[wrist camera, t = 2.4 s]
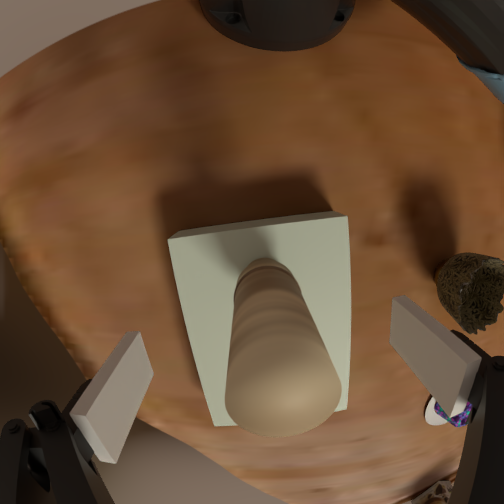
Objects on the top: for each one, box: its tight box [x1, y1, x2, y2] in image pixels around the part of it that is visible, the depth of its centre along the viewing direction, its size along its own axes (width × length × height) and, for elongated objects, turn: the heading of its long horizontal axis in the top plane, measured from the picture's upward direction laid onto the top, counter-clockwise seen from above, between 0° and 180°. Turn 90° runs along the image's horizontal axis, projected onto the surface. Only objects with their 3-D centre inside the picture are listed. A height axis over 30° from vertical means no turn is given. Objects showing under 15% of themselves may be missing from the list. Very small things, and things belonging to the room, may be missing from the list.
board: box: [168, 211, 351, 426], centre depth 26 cm, size 20×14×4 cm
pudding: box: [425, 397, 472, 427], centre depth 30 cm, size 12×12×5 cm
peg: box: [225, 258, 342, 437], centre depth 16 cm, size 4×4×14 cm
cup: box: [434, 253, 504, 335], centre depth 24 cm, size 8×7×8 cm
